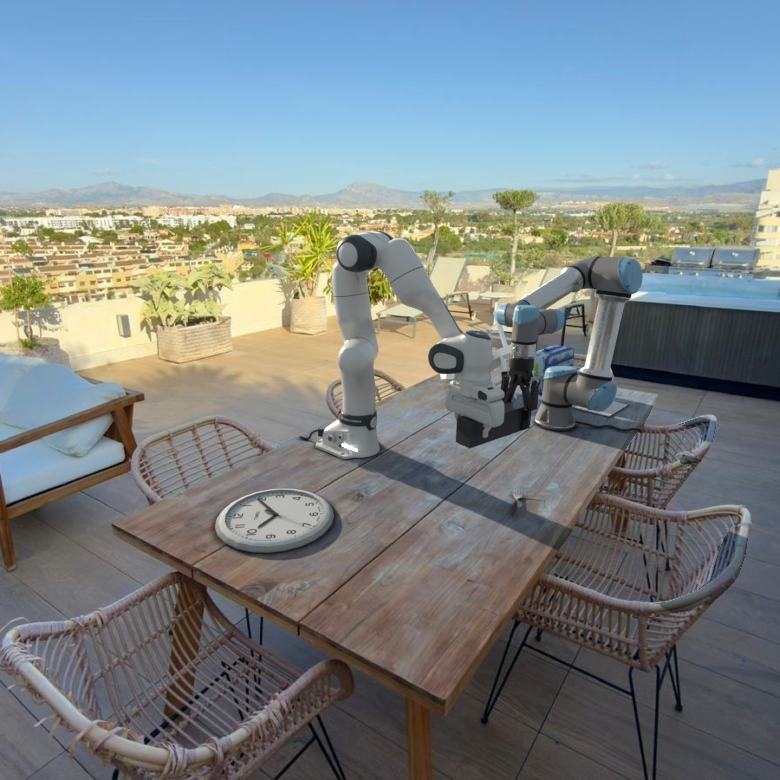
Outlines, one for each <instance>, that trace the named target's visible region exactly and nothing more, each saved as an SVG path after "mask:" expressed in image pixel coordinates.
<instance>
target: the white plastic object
mask: <svg viewBox="0 0 780 780" xmlns="http://www.w3.org/2000/svg"><path fill="white" fill-rule="evenodd" d="M496 311H497V310H495V311H492V315H493V319H494V321H495V324H496V325H495V326H496V328H497V332H498V335H499V338H500V342H501V345H502V347H500V348H498V349H496V350H495V349H492V365H491V368H490V373H492V372H494V371H495V370H496V369H497V368H499V367H500V366H502V371H506V370H508V371H509V369H510V367H509V364H508V362H509V360H510V356H511V354H510V349H511V343H510V344H508V341H507V337H506V334H505V331H504V328H503V327H504V326H503V325H500V324H499V323H498V322H497V320H496ZM439 376H440V381H442V383H443V384H444V385H445V386H449V384H450V382H452V381H456V382H459V383H460V374H458V373H456V374H439ZM510 380H511V378H510ZM510 380H509V383H510ZM524 387H525V386H524ZM516 391H517V390H515V393H514V396H513V398H514V399H515V400H517V392H516Z"/></svg>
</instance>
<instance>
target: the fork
mask: <svg viewBox="0 0 780 780" xmlns="http://www.w3.org/2000/svg"><path fill="white" fill-rule="evenodd" d="M517 485H518V486H517ZM517 485H515V487H514V491H513V494H512V496H513V498H514V499H515V500H514V502H513V504H512V511H511V517H514V515H515V512H516V510H517V508H518V500H520V499H522V498H524V497H523V496H524V488H525V487H524V486H525V485H522V486H520V487H519V485H520V484H517Z"/></svg>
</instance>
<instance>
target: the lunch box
mask: <svg viewBox="0 0 780 780" xmlns="http://www.w3.org/2000/svg"><path fill="white" fill-rule="evenodd" d="M534 358H535V361H534V369H533V371H532V374H533V377H534V378H536V379H540V380H541V382H540V384H539V390H538V393H540V394H542V391H543V382H544V379H543V378H544V375H545V371H546V369H547V368H549V367H554V366H571V367H574V363H575V348H573V347H571V346H570V347H568V346H563V345H551V346H548V347H544V348H543V349H539V350H536V352H535V356H534ZM530 383H531V381H530ZM530 388H531V384H530Z"/></svg>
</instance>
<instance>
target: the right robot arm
mask: <svg viewBox="0 0 780 780" xmlns="http://www.w3.org/2000/svg"><path fill="white" fill-rule="evenodd" d="M643 275H644V274H643V268H642V266H641V264H640V262H639V261H638V260H637V259H636V258H631V257H626V256H602V255H593V256H587V257H585V258H583V259H579V260H577V261H576V262H573V263H571V264H570V265H569V264H568V265H567V266H566V267H564V268H563V269H562V270H561V271H560V274H559V275H557V276H555V277H554V278H552V279H550V280H549V281H548V282H546V283H544V284H542V285H540V286H539V287H537V288H536V289H534V290H533V291H531V292H530V293H528V294H526V295H525V296H523V297H522V298H520V299H518V300H517V301H516V302H513V303H510V302H508V303H505V302H504V303H500V305H499V306H498V307H497V308H496V310H495V311H496V320H497V322H498V323H499V324H500V325H502V326H503V327H506V328H511V339H510V344H511V349H510V354H511V356H510V360H508V368H509V371H508V370H506V371H504V370H502V371H501V372H500V376H501V383H500V389H501V390H503V391H504V398H502V401H503V402H504V404H505V403H509V402H512V401H513V399H514V393H515V391H517V387H519V390H521V396H522V401H523V403H524V410H522V418H521V428H520V430H522V431H526V430H528V429H529V428H528V421H529V420H530V419H531V420H532V412H533V411H536V413H535V416H534V424H535V425H536V426H537V427H539V428H542V429H544V430H549V431H556V432H567V431H572V430H574V429H575V428H576V424H577V425H582V426H587V427H591V428H595V429H604V428H608V429H609V428H610V429H613V430H616V431H619V432H625V433H626V432H632V431H633V432H635V431H636V432H638V433H639V434H644V432H643V431H642V429H640V428H637V427H630V428H621V427H617V426H614V425H612V424H602V425H596V424H591V423H588V422H582V421H579V420H578V421H577V420H576V418H575V417H576V416H575V413H574V407H573V406H580V407H583V408H586V409H588V410H593V411H597V412H601V411H604V410H605V409H607V408H608V407H609V406H610V405H611V403H612V402H613V401H614V400H615V398H616V396H617V391H618V388H617V384H616V383H615V382H614V381H613V378H614V377H613V374H612V372H610V371H611V366H612V361H613V358H614V357H613V356H614V352H615V348H616V344H617V339H618V335H619V330H620V327H621V326H620V325H621V322H622V318H623V313H624V310H625V309H624V308H625V304H626V303H628V302H629V301H631V300H632V295H634V294H637V293H638V292H639V291H640V289H641V287H642V285H643V279H644V278H643ZM581 290H595V294H594V295H595V296H596V298H597V299H598V302H597V305H596V306H597V307H596V312H595V314H594V315H595V316H594V320H593V325H592V329H591V333H590V339H589V343H588V347H587V352H586V356H585V362H584V366H582V367H581V368H580V369H578V368H577V367H576V366H573V367H571V366H554V367H549V368H547V369H546V371H545V375H544V378H543V379H544V382H543V391H542V393H541V402H540V405H539V392H538V390H539V384H540V382H541V380H540V379H536V378H534V377H533V374H532V371H533V369H534V361H535V358H534V356H535V353H536V352H537V342H538V341H537V338H538V336H543V335H549V334H551V335H552V334H555V333H558V332H560V331H561V330H562V329H563V328H564V325H565V321H566V320H565V315H564V313H563V312H562V311H561V310H560V309H558V308H549V307H551V306H553V305H555V304H556V303H558V302H560V301H561V300H562V299H564V298H565V297H567V296H568V295H569V294H571V293H578V292H580V291H581ZM510 378H511V380H510ZM509 380H510V383H509ZM530 381H531V383H530ZM530 384H531V388H530ZM524 386H525V387H524ZM538 405H539V406H538ZM531 411H532V412H531ZM522 431H521V432H522Z"/></svg>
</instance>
